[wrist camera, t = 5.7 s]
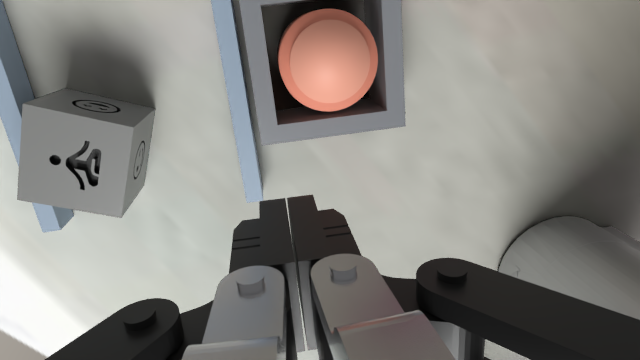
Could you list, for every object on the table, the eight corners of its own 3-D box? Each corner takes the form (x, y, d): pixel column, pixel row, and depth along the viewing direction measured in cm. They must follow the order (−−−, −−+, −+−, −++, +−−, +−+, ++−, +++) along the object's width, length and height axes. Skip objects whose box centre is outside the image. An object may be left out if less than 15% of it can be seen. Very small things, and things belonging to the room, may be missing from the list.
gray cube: (144, 184, 28) (121, 217, 23) (59, 168, 27) (17, 199, 22) (155, 108, 26) (133, 127, 22) (65, 87, 25) (22, 103, 21)
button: (361, 5, 24) (377, 2, 21) (367, 95, 26) (382, 106, 23) (271, 15, 24) (272, 14, 21) (283, 106, 26) (286, 119, 22)
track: (194, -236, 21) (188, -260, 19) (262, 188, 29) (263, 200, 27) (-95, -218, 20) (-131, -242, 18) (57, 218, 28) (43, 232, 26)
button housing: (379, -25, 25) (399, -33, 22) (386, 111, 28) (405, 126, 24) (239, -11, 25) (236, -16, 21) (261, 128, 28) (261, 145, 24)
